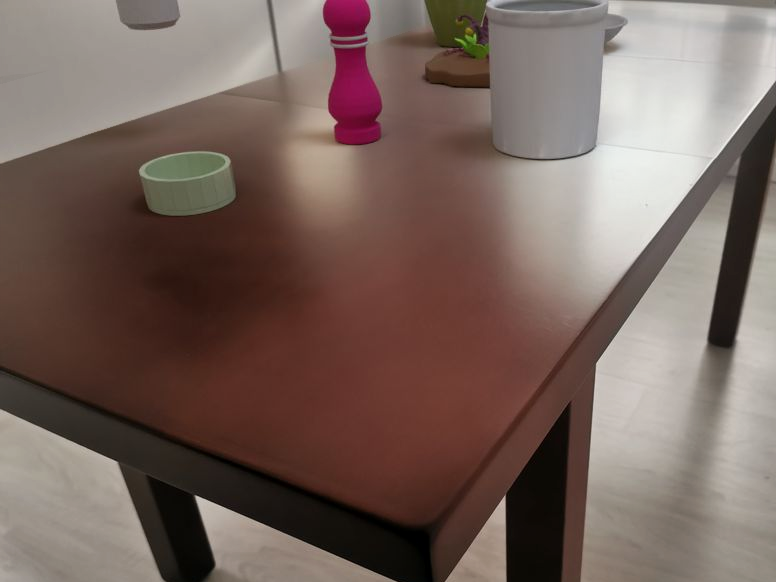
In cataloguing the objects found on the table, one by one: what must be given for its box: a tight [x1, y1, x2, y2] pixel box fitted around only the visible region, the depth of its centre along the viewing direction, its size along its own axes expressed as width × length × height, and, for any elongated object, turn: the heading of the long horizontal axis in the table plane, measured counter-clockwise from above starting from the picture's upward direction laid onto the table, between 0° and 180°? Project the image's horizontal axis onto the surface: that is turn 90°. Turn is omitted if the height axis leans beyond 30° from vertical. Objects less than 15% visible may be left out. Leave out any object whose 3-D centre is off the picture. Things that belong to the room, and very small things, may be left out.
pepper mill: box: [322, 0, 383, 146], centre depth 105 cm, size 7×7×20 cm
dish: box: [604, 13, 629, 44], centre depth 154 cm, size 18×14×5 cm
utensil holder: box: [485, 0, 609, 160], centre depth 102 cm, size 15×15×18 cm
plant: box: [424, 11, 490, 88], centre depth 136 cm, size 20×20×11 cm
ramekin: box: [138, 150, 237, 217], centre depth 91 cm, size 10×10×4 cm
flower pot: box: [423, 0, 488, 48], centre depth 157 cm, size 15×15×16 cm
